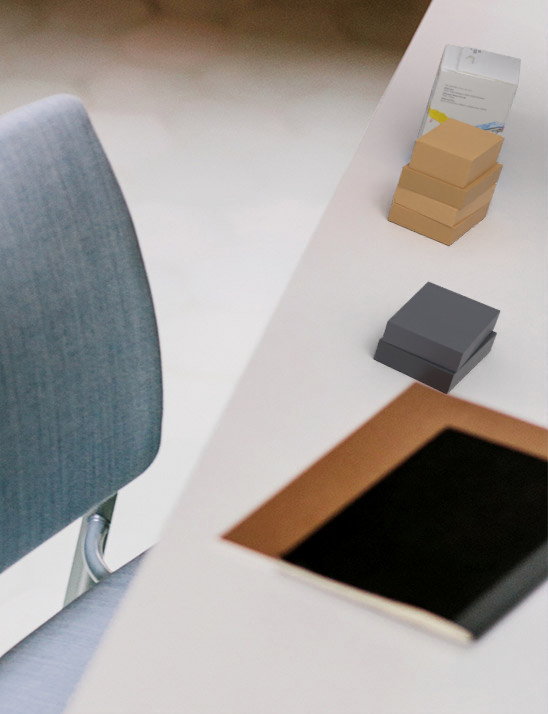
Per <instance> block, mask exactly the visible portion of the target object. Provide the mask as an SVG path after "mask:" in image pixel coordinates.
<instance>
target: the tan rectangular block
mask: <svg viewBox="0 0 548 714" xmlns="http://www.w3.org/2000/svg"><path fill="white" fill-rule="evenodd" d="M417 138H418V137H417ZM417 138H416V140H415V143H414V146H413V150H412V154H411V157H410V161H409V162H410V164H409V168H411V169H413V170H416V171H418V172H421V173H424V174H426V175H429V176H431V177H434V178H436V179H439V180H442V181H444V182H447V183H449V184H452V185H454V186H457V187H459V188H462V189H464V188H465V187H467V186H468V185H469V184H471V183H472V182H473V181H475V180H476V179H477V178H478V177H480V176H481V175H482V174H484V173H485V172H486V171H488V170H489V169H490V168H492V167H493V166H494V165H496V162H497V163H498V158H499V156H500V153H501V150H502V147H503V144H504V141H505V136H502V135H501V136H499V135H497V134H494V133H491V132H488V131H486V130H483V129H480V128H477V127H475V126H472V125H469V124H466V123H464V122H461V121H458V120H455V119H453V118H449V119H448V120H446V121H445V122H443V123H441V124H440V125H438V126H437V127H435V128H434V129H432V130H431V131H429V132H428V133H426V134H425V135H423V136H422V137H420V138H418V139H417Z"/></svg>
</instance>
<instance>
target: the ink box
mask: <svg viewBox="0 0 548 714" xmlns="http://www.w3.org/2000/svg"><path fill="white" fill-rule="evenodd" d="M521 61H522V60H521V58H518V57H515V56H510V55H506V54H501V53H497V52H493V51H488V50H485V49H478V48H475V47H471V46H459V45H455V44H449V43H446V44H445V45H444V49H443V51H442V55H441V58H440V60H439V64H438V67H437V71H436V74H435V77H434V80H433V84H432V87H431V89H430V94H429V96H428V100H427V103H426V107H425V109H424V110H425V111H424V114H423V117H422V121H421V124H420V128H419V132H418V134H417V138H416V140H417V139H418V138H420V137H422V136H423V135H425V134H426V133H428V132H429V131H431V130H432V129H434V128H435V127H437V126H438V125H440V124H441V123H443V122H445V121H446V120H448V119H449V118H453V119H455V120H458V121H461V122H464V123H466V124H469V125H472V126H475V127H477V128H480V129H483V130H486V131H488V132H491V133H494V134H497V135H499V136H502V135H503V132H504V129H505V126H506V123H507V120H508V117H509V115H510V111H511V108H512V106H513V103H514V99H515V97H516V94H517V92H518V88H519V82H520V74H521V73H520V72H521V64H522V63H521Z"/></svg>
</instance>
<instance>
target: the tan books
mask: <svg viewBox="0 0 548 714" xmlns="http://www.w3.org/2000/svg"><path fill="white" fill-rule="evenodd" d="M409 164H410V161H409V162H407V164H405V165H403V166H402V168H401V172H400V175H399V178H398V182H397V185H396V187H395V191H394V195H393V199H392V204H391V208H390V211H389V214H388V217H387V221H389V222H390V223H394V224H396V225H398V226H400V227H402V228H405V229H408V230H410V231H412V232H415V233H418V234H420V235H422V236H424V237H427V238H429V239H432V240H434V241H437V242H439V243H442V244H444V245H446V246H449V247H450V246H451V245H452V244H453V243H455V242H456V241H457V240H459V239H460V238H461V237H463V235H465V234H466V233H468V232H469V231H470V230H471V229H472V228H474V227H475V226H476V225H478V223H480V222H481V221H483V219H485V218H486V217H487V214H488V210H489V208H490V205H491V202H492V199H493V197H494V194H495V191H496V188H497V184H498V181H499V179H500V176H501V173H502V170H503V167H504V164H502V163H500V162H498V161H497V162H496V165H494V166H493V167H492V168H490V169H489V170H488V171H486V172H485V173H484V174H482V175H481V176H480V177H478V178H477V179H476V180H475V181H473V182H472V183H471V184H469V185H468V186H467V187H465V188H464V189H462V188H459V187H457V186H454V185H452V184H449V183H447V182H444V181H442V180H439V179H436V178H434V177H431V176H429V175H426V174H424V173H421V172H418V171H416V170H413V169H411V168H409Z"/></svg>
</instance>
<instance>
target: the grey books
mask: <svg viewBox="0 0 548 714" xmlns="http://www.w3.org/2000/svg"><path fill="white" fill-rule="evenodd" d="M500 314H501V310H500V309H498V308H495V307H493V306H490V305H489V304H486V303H483V302H481V301H478V300H475V299H473V298H470V297H468V296H465V295H462V293H461V294H460V293H458V292H456V291H454V290H451V289H448V288H446V287H443V286H441V285H438V284H435V283H434V282H431V281H427V282H426V283H425V284H424V285H423V286H422V287H420V289H419V290H418V291H417V292H416V293H415V294H414V295H412V297H410V298H409V300H407V302H405V303H404V304H403V305H402V306H401V308H400V309H398V310H397V311H396V312H395V313H394V314H393V315H392V316H391V317H390V318H389V319H388V320H387V321H386V324H385V328H384V331H383V335H382V337H381V338H379V339H378V342H377V346H376V348H375V352H374V355H373V360H375V361H377V362H379V363H381V364H383V365H385V366H388V367H390V368H392V369H394V370H396V371H398V372H400V373H402V374H405V375H406V376H408V377H411V378H413V379H415V380H416V381H417V380H418V381H419V382H421V383H424V384H425V385H427V386H430V387H431V388H434V389H435V390H438V391H440V392H442V393H444V394H446V395H447V394H449V393H450V391H452V390H453V389H454V388H455V386H457V385H458V384H459V383H460V382H461V381H462V380H463V379H464V378H465V377H466V376H467V375H468V374H469V373H470V372H471V371H472V370H473V369H474V368H475V367H476V366H477V365H478V364H479V363H480V362H481V361H482V360H483V359H484V358H485V357H487V355H488V354H489V353H490V352H491V350H492V348H493V346H494V343H495V340H496V338H497V334H498V332H497V331H494V330H495V327H496V325H497V322H498V319H499V317H500Z"/></svg>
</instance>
